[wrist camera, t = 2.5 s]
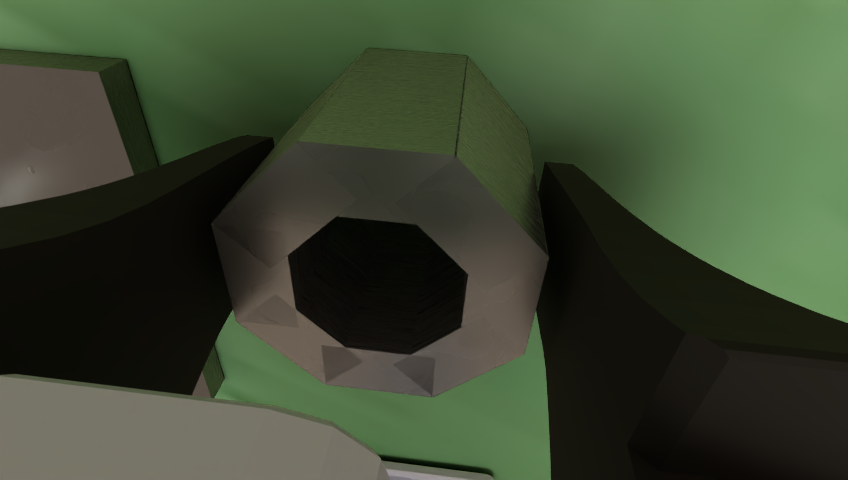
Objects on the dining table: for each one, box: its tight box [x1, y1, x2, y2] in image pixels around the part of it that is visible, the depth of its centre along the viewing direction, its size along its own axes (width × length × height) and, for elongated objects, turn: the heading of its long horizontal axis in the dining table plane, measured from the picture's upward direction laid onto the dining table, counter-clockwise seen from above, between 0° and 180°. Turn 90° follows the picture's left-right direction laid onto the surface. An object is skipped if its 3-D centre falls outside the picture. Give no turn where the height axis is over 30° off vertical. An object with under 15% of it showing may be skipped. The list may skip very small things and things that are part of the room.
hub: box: [211, 48, 549, 397], centre depth 10 cm, size 5×5×5 cm
